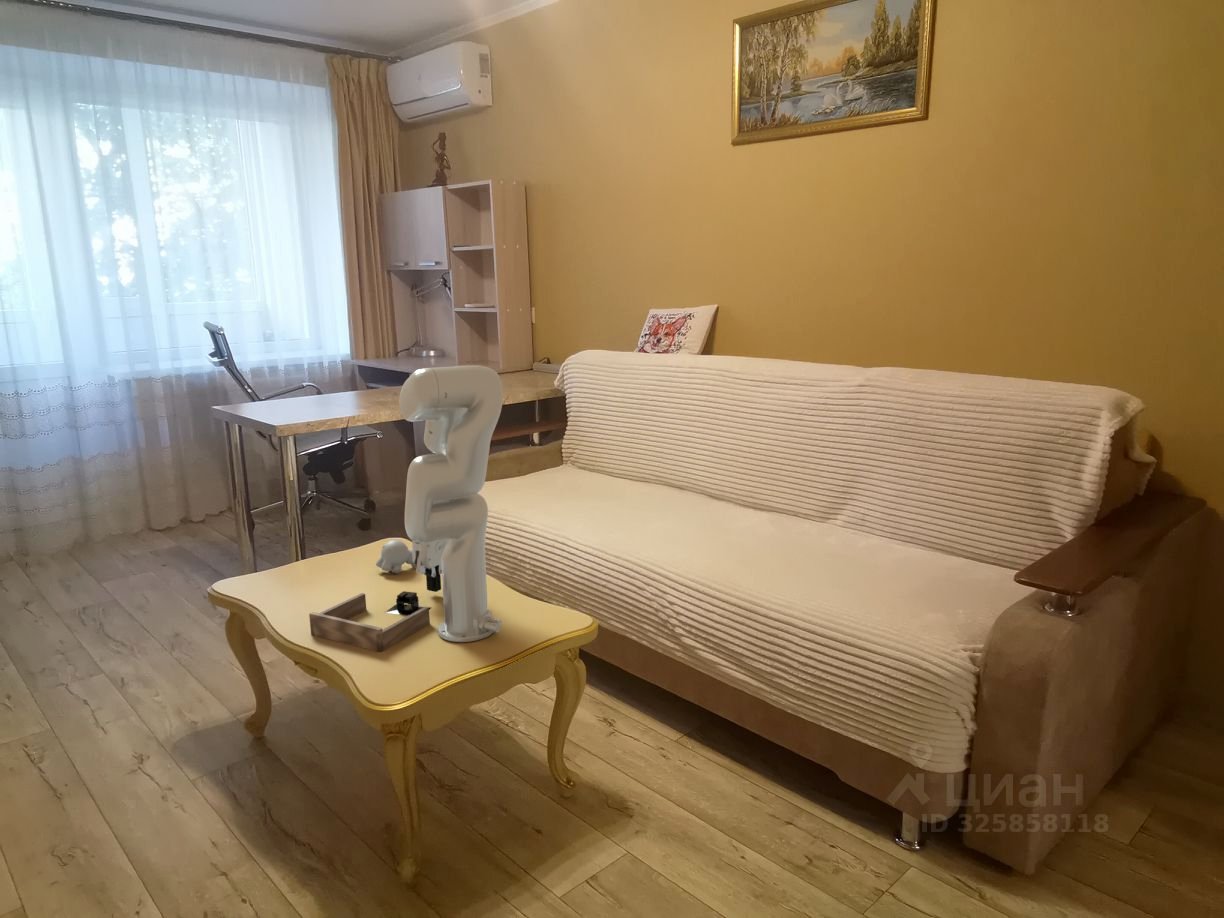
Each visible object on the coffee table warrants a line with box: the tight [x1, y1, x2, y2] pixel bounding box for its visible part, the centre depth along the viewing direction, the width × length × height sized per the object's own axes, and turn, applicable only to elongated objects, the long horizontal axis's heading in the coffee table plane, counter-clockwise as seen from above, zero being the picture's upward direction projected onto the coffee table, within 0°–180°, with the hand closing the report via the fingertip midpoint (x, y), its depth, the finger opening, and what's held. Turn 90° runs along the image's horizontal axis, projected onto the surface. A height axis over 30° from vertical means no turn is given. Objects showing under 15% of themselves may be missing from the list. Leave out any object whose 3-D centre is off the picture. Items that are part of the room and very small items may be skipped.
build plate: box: [384, 590, 432, 616], centre depth 190 cm, size 12×7×5 cm, turn 74°
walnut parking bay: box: [308, 592, 431, 653], centre depth 179 cm, size 20×16×5 cm
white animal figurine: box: [375, 539, 417, 575], centre depth 217 cm, size 7×12×8 cm, turn 124°
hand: (434, 589), depth 199 cm, fingers closed
